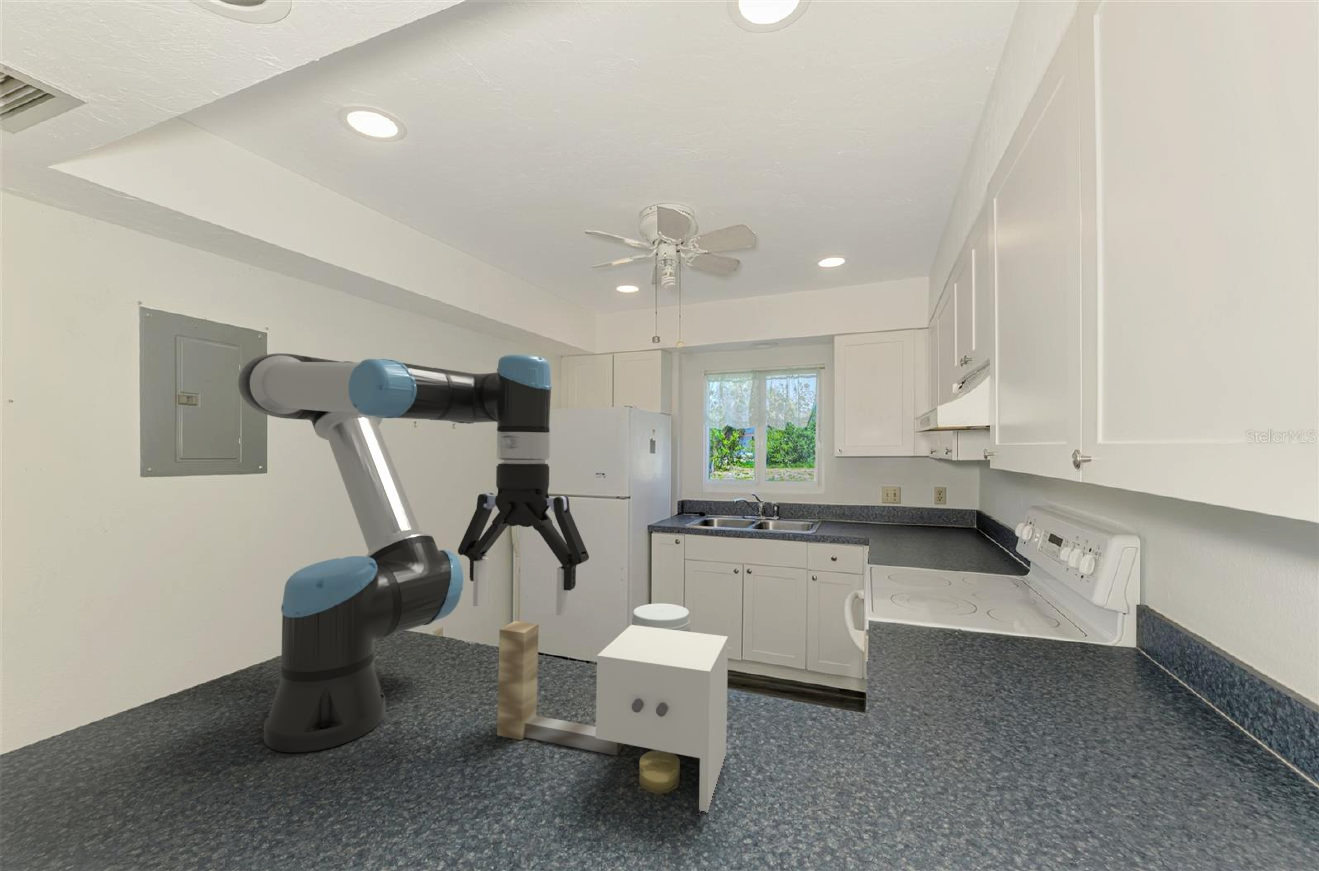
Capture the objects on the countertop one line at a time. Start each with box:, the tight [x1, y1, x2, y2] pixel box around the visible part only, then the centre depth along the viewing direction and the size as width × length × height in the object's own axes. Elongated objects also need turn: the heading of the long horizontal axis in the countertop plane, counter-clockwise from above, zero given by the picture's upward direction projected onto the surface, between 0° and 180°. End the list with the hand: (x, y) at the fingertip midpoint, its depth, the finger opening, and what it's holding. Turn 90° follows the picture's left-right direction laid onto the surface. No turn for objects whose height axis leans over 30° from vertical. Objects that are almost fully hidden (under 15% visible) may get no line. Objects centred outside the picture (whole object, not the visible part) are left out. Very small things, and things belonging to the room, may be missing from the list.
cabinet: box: [595, 624, 729, 814], centre depth 69 cm, size 14×13×16 cm
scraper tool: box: [496, 620, 624, 756], centre depth 77 cm, size 18×4×15 cm, turn 73°
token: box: [638, 749, 681, 794], centre depth 67 cm, size 5×5×2 cm
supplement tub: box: [631, 602, 691, 632], centre depth 88 cm, size 10×10×15 cm
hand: (520, 608), depth 79 cm, fingers open, 13 cm apart
